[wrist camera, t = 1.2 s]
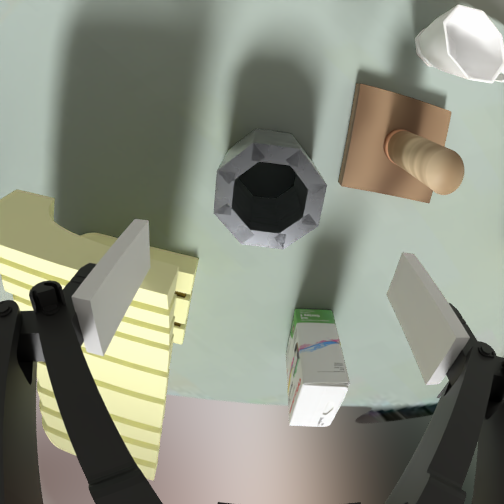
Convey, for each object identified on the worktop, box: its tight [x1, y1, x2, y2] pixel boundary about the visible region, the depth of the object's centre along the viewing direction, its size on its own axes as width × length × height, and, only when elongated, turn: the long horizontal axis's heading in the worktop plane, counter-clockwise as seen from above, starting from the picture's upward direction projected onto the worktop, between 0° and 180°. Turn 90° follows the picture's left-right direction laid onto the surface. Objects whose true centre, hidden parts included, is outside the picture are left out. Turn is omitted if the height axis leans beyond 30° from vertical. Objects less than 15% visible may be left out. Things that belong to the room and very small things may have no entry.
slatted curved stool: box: [0, 189, 199, 480], centre depth 30 cm, size 30×16×18 cm, turn 166°
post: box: [338, 84, 464, 203], centre depth 24 cm, size 10×10×10 cm
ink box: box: [286, 309, 350, 427], centre depth 36 cm, size 8×5×12 cm, turn 176°
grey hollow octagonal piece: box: [214, 129, 327, 249], centre depth 27 cm, size 8×8×8 cm
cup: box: [415, 4, 504, 83], centre depth 20 cm, size 7×10×8 cm
